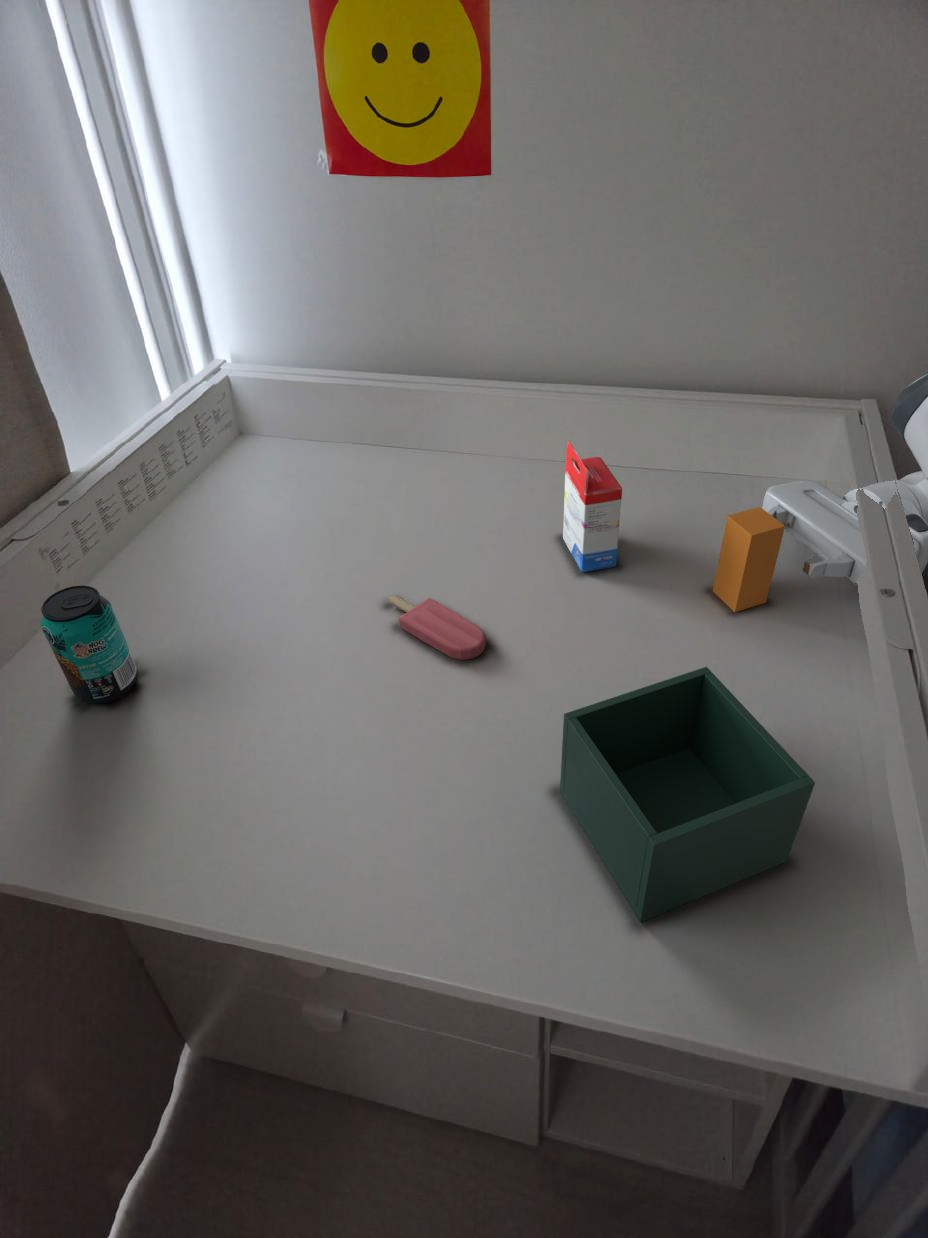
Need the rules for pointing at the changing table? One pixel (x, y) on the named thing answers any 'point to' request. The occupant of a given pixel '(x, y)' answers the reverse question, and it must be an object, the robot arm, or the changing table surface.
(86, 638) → the beverage can
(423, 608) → the popsicle
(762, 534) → the orange rectangular prism
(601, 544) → the ink box
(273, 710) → the changing table surface
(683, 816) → the open green box
